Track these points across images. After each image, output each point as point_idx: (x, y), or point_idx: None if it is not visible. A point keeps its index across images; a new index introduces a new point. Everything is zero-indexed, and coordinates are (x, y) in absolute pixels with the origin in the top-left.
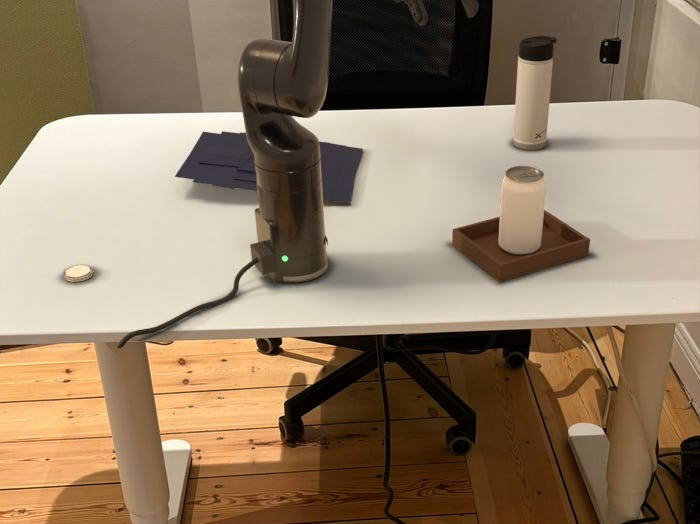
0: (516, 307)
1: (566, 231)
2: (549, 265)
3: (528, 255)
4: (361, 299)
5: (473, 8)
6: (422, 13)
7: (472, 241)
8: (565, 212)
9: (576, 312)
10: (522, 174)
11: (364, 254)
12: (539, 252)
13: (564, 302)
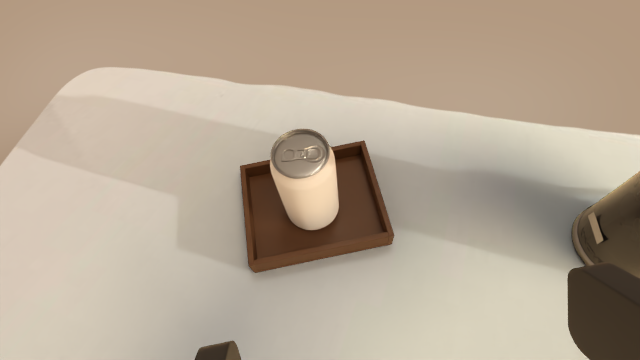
0: (363, 112)
1: (249, 201)
2: None
3: None
4: (523, 158)
5: (230, 344)
6: (632, 277)
7: (377, 196)
8: (203, 288)
9: (314, 95)
10: (302, 157)
11: (517, 255)
12: None
13: (316, 109)
